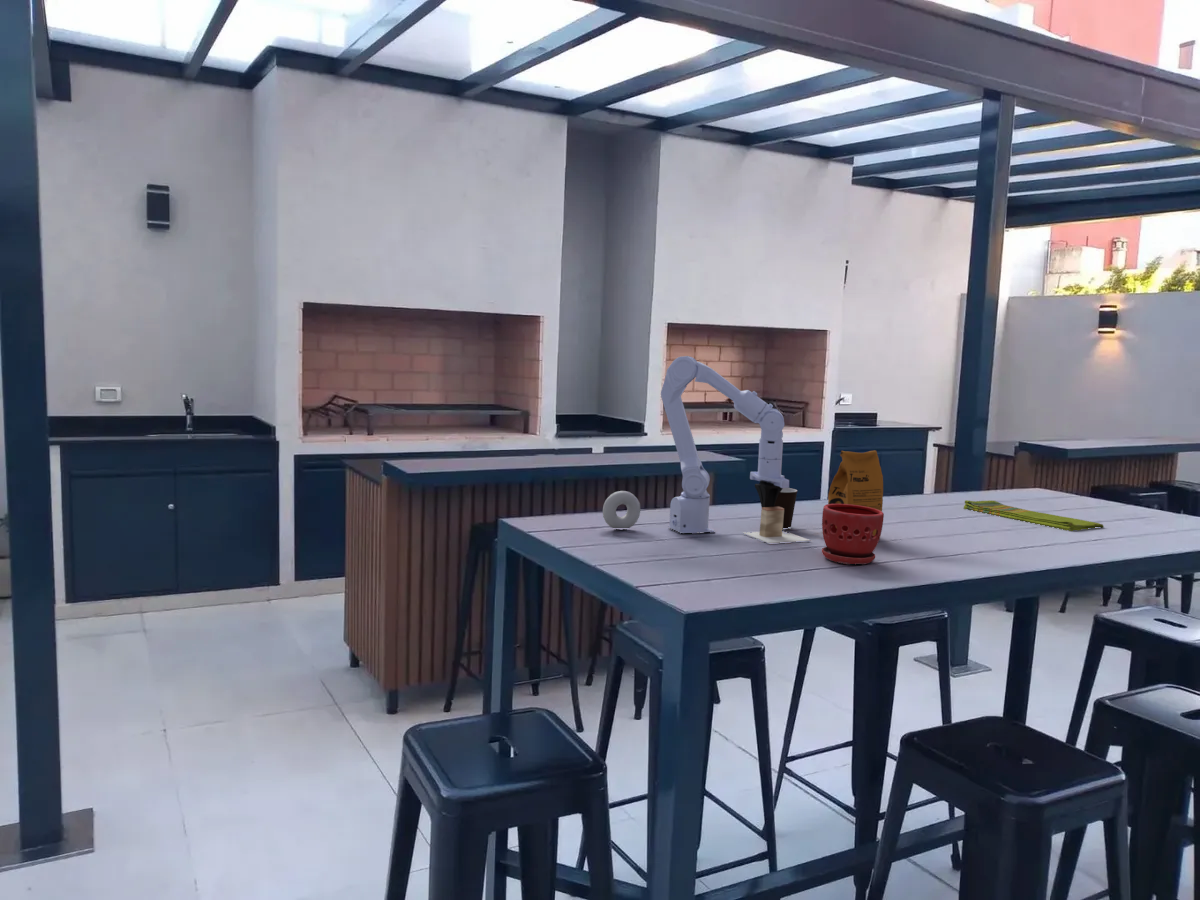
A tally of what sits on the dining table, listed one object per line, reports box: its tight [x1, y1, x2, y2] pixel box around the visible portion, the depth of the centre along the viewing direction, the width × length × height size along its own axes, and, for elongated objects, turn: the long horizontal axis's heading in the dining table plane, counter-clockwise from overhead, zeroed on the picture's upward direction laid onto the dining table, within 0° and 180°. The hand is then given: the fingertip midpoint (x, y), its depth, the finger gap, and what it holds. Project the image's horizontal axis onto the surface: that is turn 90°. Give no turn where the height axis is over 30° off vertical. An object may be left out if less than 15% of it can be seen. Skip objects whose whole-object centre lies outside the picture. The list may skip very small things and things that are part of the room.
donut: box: [602, 490, 641, 529], centre depth 230 cm, size 10×4×10 cm, turn 110°
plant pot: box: [821, 503, 885, 566], centre depth 205 cm, size 13×13×12 cm
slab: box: [759, 507, 784, 537], centre depth 228 cm, size 5×2×7 cm, turn 113°
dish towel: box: [963, 499, 1105, 532], centre depth 269 cm, size 15×36×3 cm, turn 29°
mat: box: [743, 530, 812, 543], centre depth 228 cm, size 12×12×1 cm
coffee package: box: [827, 450, 884, 536], centre depth 230 cm, size 10×12×22 cm
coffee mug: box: [774, 487, 798, 528], centre depth 242 cm, size 12×9×10 cm
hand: (767, 512), depth 229 cm, fingers closed
